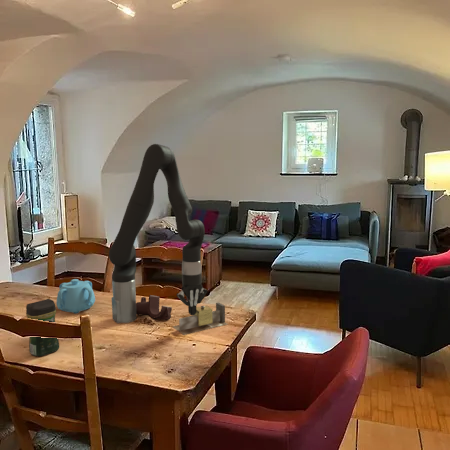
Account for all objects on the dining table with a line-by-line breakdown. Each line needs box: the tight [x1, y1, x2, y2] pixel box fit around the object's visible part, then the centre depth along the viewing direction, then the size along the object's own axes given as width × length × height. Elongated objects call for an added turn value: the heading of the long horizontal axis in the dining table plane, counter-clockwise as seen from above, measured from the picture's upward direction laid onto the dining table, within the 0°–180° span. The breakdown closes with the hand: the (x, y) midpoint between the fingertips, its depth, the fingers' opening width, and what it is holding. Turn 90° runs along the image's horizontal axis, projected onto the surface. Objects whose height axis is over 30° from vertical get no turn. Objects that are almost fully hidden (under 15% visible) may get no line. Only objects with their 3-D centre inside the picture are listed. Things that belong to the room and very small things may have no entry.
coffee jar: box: [25, 298, 60, 357], centre depth 162 cm, size 10×8×19 cm
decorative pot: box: [55, 278, 96, 314], centre depth 205 cm, size 16×16×14 cm
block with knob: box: [195, 305, 213, 326], centre depth 183 cm, size 6×4×7 cm
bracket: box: [136, 294, 173, 320], centre depth 195 cm, size 6×17×10 cm, turn 62°
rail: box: [172, 301, 229, 336], centre depth 183 cm, size 20×10×8 cm, turn 122°
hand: (192, 314), depth 181 cm, fingers closed
